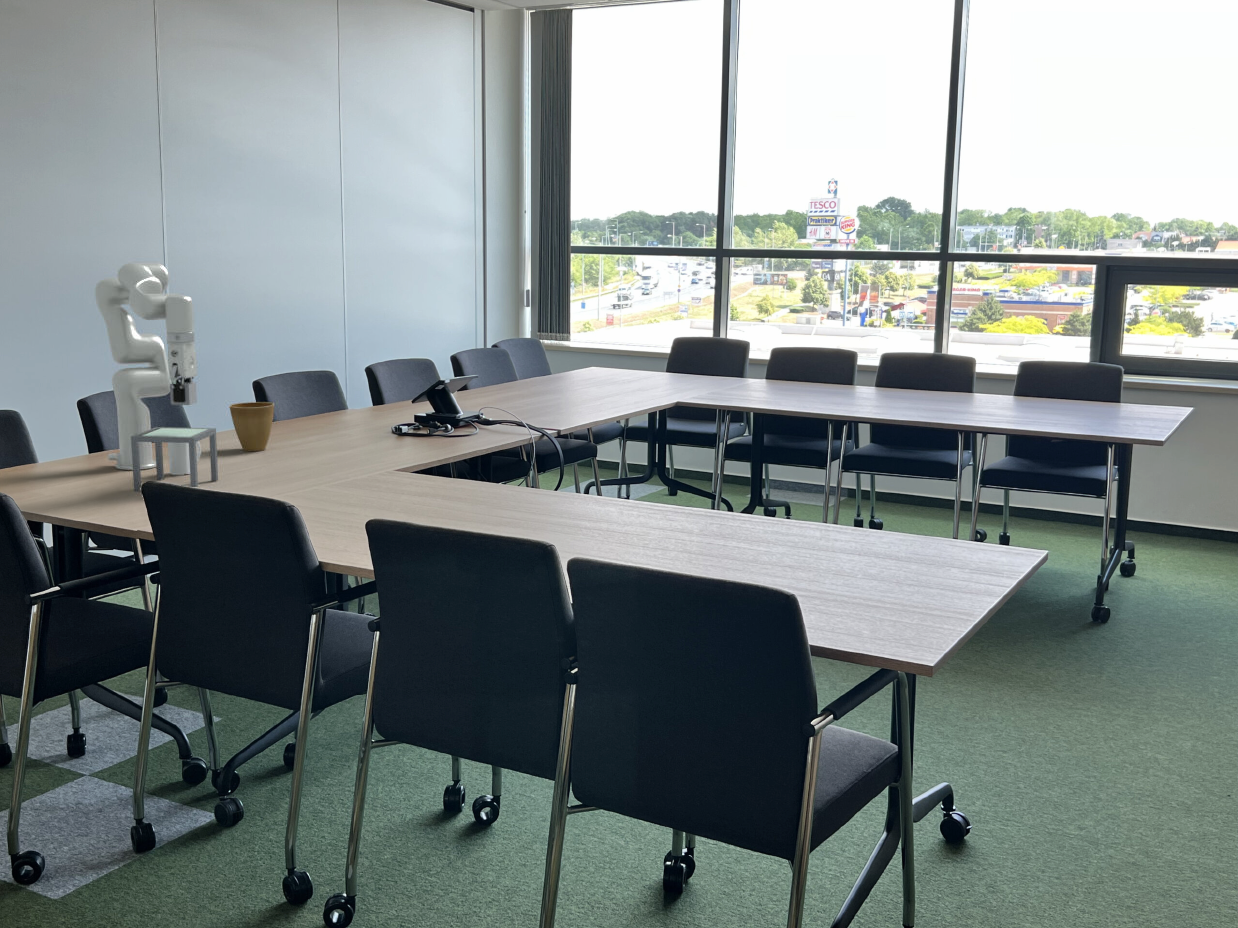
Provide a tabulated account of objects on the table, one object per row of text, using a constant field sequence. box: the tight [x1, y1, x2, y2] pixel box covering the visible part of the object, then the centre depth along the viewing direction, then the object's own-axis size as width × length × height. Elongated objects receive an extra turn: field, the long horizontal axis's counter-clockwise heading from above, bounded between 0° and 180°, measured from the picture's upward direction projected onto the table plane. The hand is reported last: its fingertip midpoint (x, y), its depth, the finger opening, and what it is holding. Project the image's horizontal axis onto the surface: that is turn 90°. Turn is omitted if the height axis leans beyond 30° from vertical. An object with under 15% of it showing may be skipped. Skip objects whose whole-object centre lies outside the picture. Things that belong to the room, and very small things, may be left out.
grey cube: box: [169, 381, 198, 406], centre depth 334 cm, size 6×6×6 cm
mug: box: [167, 441, 202, 476], centre depth 357 cm, size 10×7×12 cm, turn 131°
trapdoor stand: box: [131, 426, 219, 492], centre depth 338 cm, size 18×18×16 cm
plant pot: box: [228, 401, 275, 452], centre depth 399 cm, size 15×15×16 cm
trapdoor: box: [142, 427, 208, 437], centre depth 337 cm, size 14×14×1 cm
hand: (183, 399), depth 335 cm, fingers closed on grey cube, 5 cm apart
